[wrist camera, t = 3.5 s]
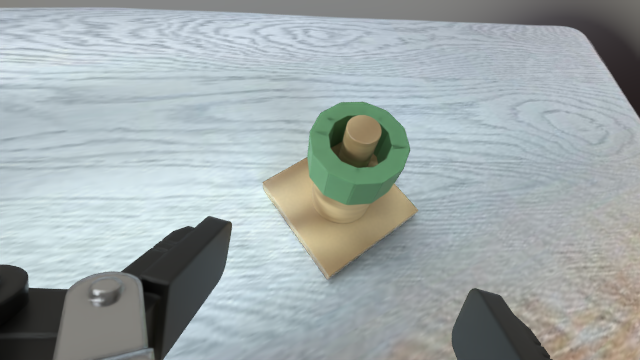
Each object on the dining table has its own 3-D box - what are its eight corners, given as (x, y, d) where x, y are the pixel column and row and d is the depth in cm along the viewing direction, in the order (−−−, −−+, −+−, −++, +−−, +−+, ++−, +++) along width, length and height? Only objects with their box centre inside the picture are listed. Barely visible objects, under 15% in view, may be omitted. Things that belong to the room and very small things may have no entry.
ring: (291, 154, 23) (291, 127, 20) (357, 117, 25) (366, 88, 23) (344, 222, 21) (353, 203, 18) (412, 175, 23) (429, 152, 20)
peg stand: (263, 189, 29) (250, 108, 19) (346, 141, 33) (372, 50, 23) (327, 280, 26) (352, 239, 16) (412, 216, 29) (477, 149, 19)
